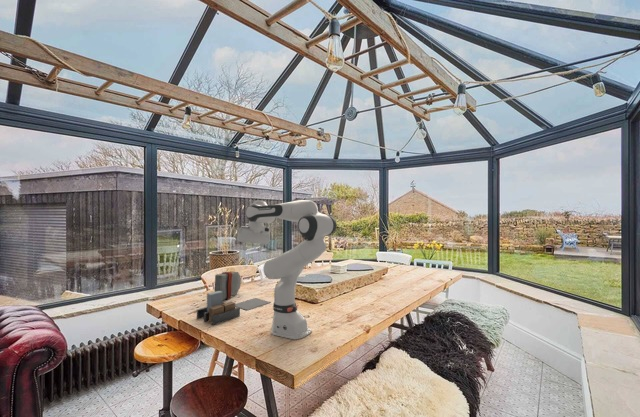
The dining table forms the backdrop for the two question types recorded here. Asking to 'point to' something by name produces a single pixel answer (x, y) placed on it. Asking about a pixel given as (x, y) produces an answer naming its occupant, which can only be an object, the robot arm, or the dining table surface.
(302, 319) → the robot arm
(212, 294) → the panel
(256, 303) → the mat
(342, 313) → the dining table surface
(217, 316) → the rack
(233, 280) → the decorative stone tablet
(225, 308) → the offcut
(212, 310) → the offcut
